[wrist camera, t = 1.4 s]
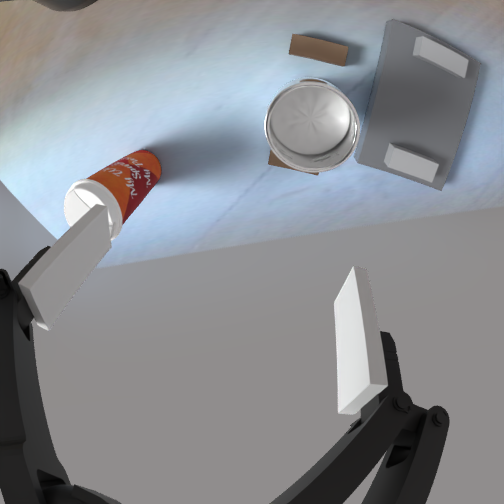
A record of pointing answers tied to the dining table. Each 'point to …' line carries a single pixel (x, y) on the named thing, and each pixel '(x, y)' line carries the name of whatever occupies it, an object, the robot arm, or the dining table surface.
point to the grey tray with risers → (417, 106)
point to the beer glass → (311, 125)
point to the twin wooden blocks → (315, 51)
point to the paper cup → (114, 189)
